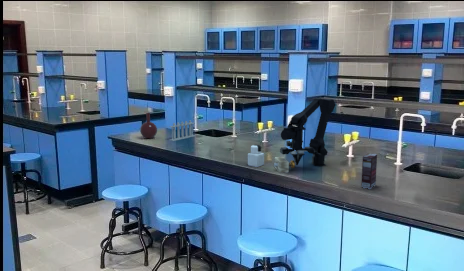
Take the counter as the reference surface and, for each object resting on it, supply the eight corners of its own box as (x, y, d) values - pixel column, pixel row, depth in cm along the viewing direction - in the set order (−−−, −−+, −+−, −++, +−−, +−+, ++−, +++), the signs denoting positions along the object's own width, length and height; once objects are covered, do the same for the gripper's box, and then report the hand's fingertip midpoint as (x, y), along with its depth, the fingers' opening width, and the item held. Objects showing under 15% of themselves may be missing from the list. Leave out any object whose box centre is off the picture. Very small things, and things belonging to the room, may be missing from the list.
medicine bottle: (254, 162, 252) (254, 143, 250) (264, 164, 248) (264, 145, 245) (247, 165, 247) (247, 145, 244) (257, 167, 242) (257, 147, 240)
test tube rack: (173, 141, 319) (172, 124, 316) (169, 140, 321) (168, 123, 319) (195, 136, 338) (195, 120, 336) (191, 135, 341) (191, 119, 338)
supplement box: (366, 183, 210) (368, 152, 207) (375, 185, 208) (377, 154, 205) (360, 187, 203) (362, 156, 200) (370, 189, 201) (372, 157, 198)
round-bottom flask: (151, 136, 339) (150, 111, 335) (160, 138, 329) (159, 113, 325) (137, 138, 330) (136, 113, 326) (146, 140, 320) (145, 114, 317)
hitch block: (282, 166, 242) (282, 156, 241) (288, 172, 231) (288, 162, 230) (274, 167, 242) (274, 157, 241) (279, 172, 230) (280, 162, 229)
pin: (292, 166, 239) (292, 159, 239) (294, 168, 235) (295, 161, 234) (273, 167, 238) (273, 160, 237) (275, 169, 233) (275, 162, 233)
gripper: (308, 135, 244) (307, 161, 246) (277, 136, 241) (277, 162, 243) (315, 138, 233) (314, 165, 236) (282, 139, 230) (282, 167, 233)
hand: (296, 165), depth 237 cm, fingers closed
